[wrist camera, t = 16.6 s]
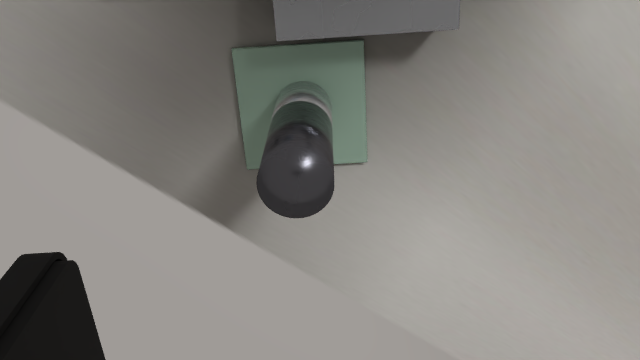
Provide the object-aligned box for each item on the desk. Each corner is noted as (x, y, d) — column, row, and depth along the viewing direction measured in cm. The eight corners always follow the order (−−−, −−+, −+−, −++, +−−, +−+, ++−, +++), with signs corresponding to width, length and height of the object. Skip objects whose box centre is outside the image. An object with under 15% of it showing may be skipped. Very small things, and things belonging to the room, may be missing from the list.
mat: (363, 39, 36) (363, 41, 35) (366, 159, 39) (367, 161, 39) (232, 48, 36) (231, 49, 36) (247, 167, 39) (246, 169, 39)
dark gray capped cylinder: (333, 133, 38) (336, 215, 28) (278, 137, 38) (261, 220, 28) (330, 79, 36) (331, 145, 26) (272, 83, 36) (252, 150, 27)
